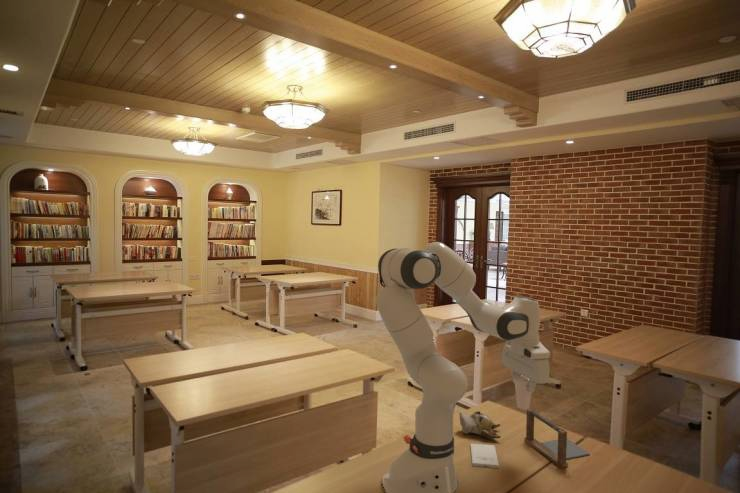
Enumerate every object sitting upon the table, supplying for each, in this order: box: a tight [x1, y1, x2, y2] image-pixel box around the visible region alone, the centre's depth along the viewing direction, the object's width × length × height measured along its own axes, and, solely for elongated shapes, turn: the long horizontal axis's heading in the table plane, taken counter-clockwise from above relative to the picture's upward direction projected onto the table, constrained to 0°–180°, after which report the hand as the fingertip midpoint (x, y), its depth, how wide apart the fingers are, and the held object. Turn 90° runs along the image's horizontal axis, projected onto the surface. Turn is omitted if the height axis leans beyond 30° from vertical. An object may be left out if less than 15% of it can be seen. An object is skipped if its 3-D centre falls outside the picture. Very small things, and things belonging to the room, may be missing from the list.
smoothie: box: [514, 374, 532, 411], centre depth 147 cm, size 6×6×14 cm
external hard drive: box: [470, 443, 500, 469], centre depth 149 cm, size 2×8×12 cm
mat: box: [540, 438, 591, 461], centre depth 153 cm, size 11×11×1 cm
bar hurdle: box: [524, 408, 569, 469], centre depth 151 cm, size 3×18×12 cm, turn 17°
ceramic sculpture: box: [459, 410, 502, 440], centre depth 164 cm, size 11×9×15 cm
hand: (523, 387), depth 147 cm, fingers closed on smoothie, 6 cm apart
